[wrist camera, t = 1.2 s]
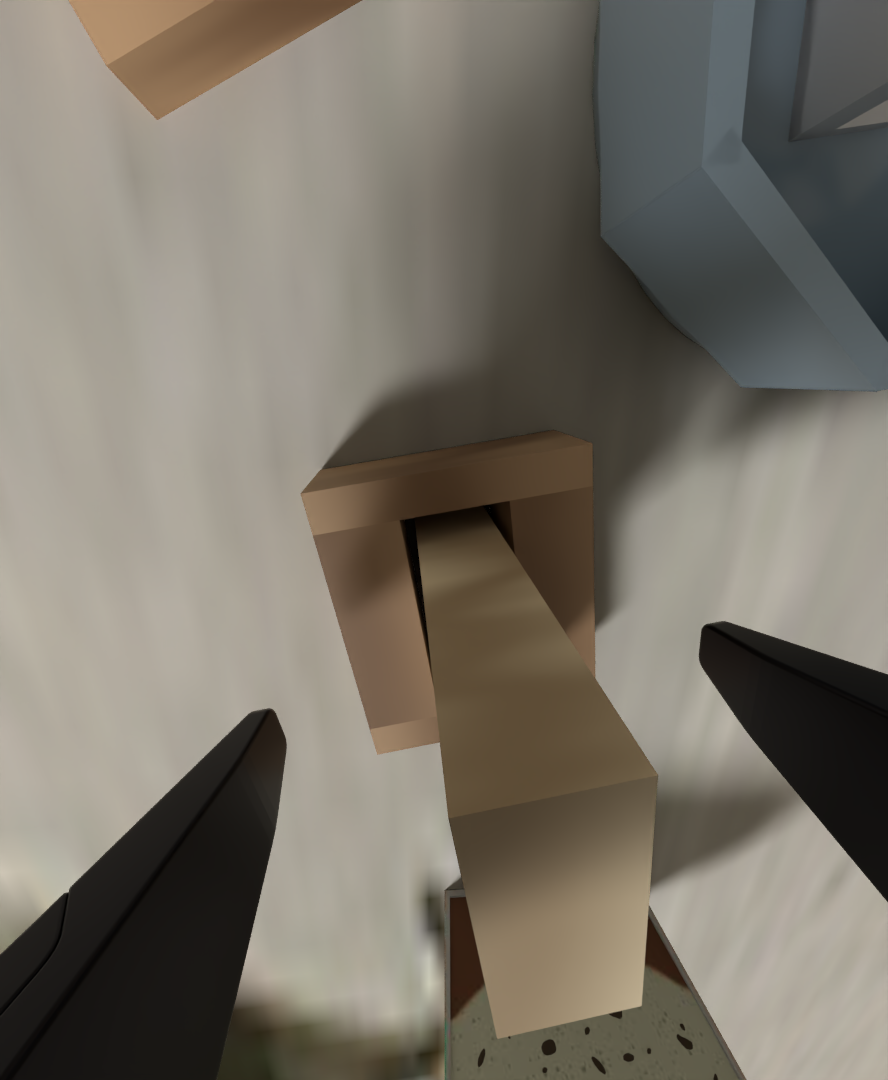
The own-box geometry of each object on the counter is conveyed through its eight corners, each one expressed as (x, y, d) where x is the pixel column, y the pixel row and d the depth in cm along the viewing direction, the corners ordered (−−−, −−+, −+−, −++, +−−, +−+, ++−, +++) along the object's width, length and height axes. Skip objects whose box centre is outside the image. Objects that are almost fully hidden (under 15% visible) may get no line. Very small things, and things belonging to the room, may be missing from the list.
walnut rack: (553, 429, 12) (592, 443, 9) (564, 658, 15) (595, 710, 12) (320, 469, 11) (300, 493, 9) (380, 693, 14) (377, 754, 12)
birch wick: (480, 502, 12) (657, 775, 4) (496, 628, 14) (642, 1006, 6) (414, 514, 12) (448, 818, 4) (437, 639, 14) (497, 1039, 5)
